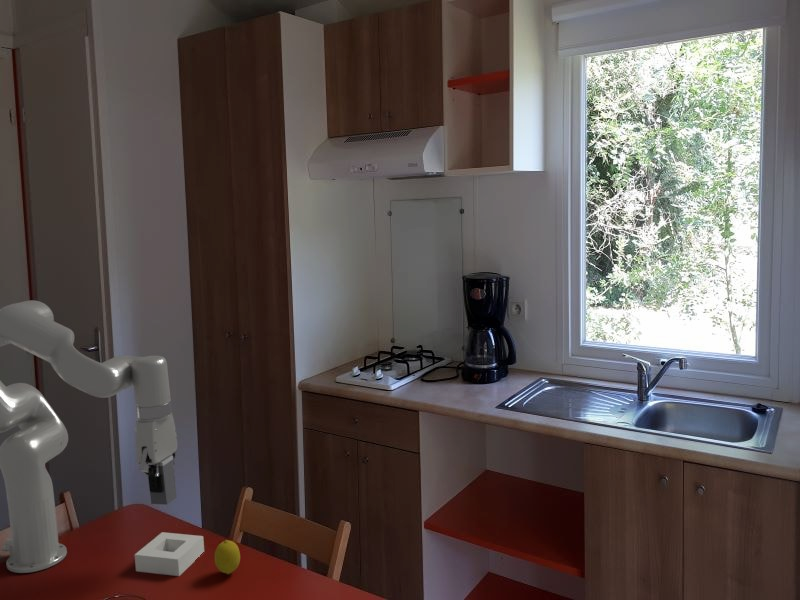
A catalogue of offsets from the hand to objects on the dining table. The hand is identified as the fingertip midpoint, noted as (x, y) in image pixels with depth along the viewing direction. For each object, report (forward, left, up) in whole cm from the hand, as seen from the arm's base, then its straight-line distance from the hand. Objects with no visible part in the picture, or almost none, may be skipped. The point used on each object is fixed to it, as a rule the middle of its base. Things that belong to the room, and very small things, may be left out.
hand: (162, 486), depth 157 cm
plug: (0, 0, -3) cm, 3 cm away
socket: (+1, 0, -18) cm, 18 cm away
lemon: (+17, -3, -18) cm, 25 cm away
